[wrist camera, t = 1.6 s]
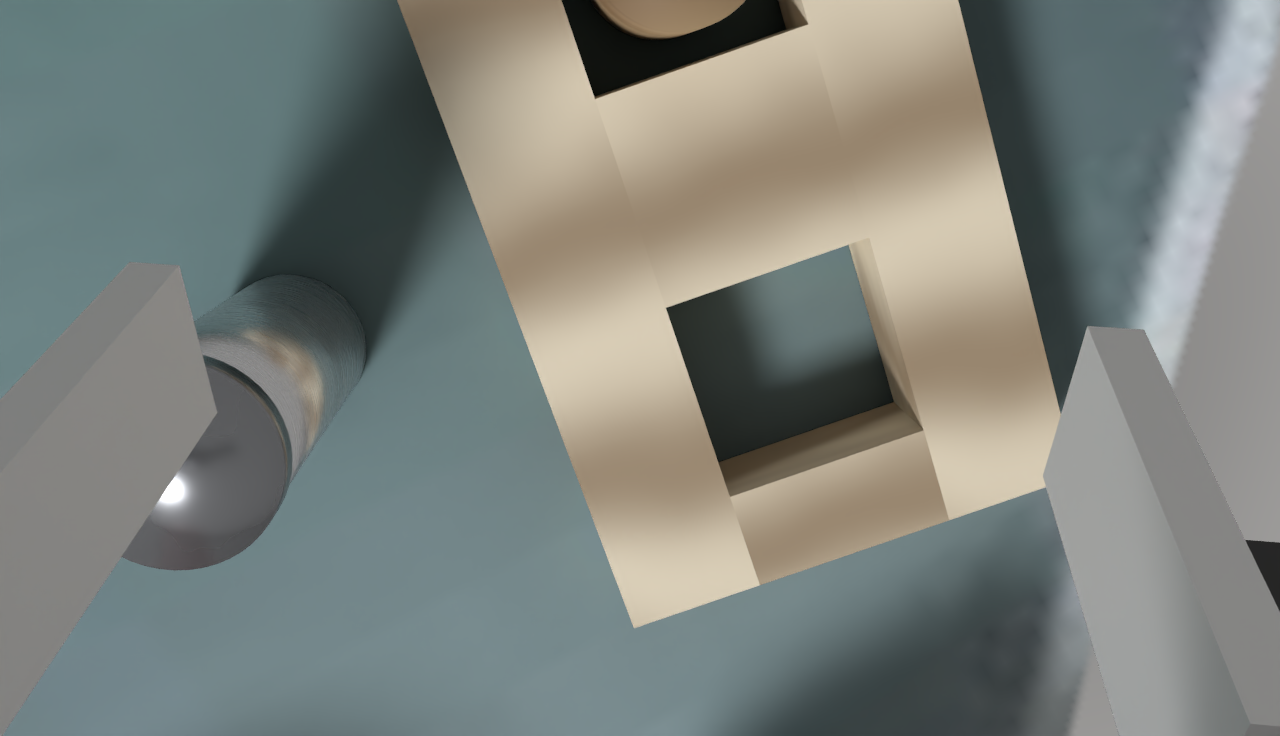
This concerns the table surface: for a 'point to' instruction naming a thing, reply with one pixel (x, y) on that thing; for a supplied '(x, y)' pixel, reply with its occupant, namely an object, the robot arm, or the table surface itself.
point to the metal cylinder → (255, 417)
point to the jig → (750, 269)
